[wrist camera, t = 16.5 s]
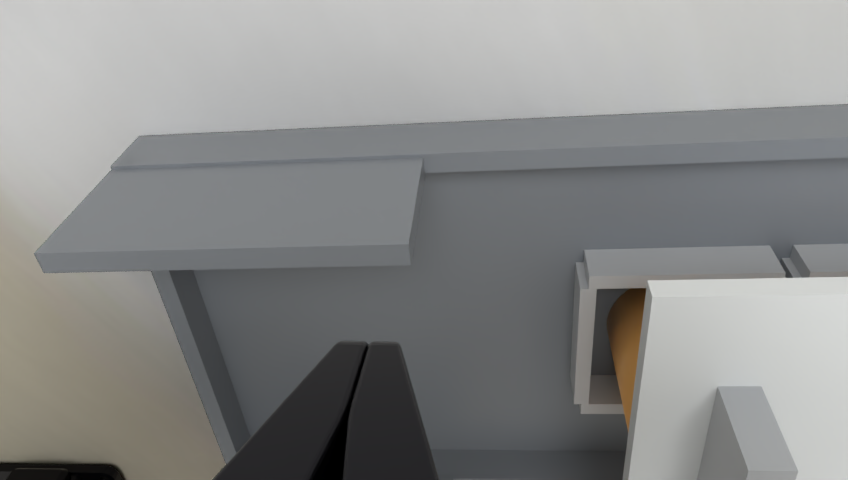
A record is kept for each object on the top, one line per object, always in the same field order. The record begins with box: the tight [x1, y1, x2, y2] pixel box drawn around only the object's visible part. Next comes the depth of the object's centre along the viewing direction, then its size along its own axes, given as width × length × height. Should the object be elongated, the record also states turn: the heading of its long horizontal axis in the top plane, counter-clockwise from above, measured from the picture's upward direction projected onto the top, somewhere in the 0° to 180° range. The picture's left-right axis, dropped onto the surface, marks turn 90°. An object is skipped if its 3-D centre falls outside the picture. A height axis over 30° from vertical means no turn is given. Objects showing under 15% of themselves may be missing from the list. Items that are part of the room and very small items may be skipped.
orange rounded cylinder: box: [607, 288, 646, 431], centre depth 22 cm, size 4×4×5 cm
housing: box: [34, 104, 848, 480], centre depth 22 cm, size 15×26×6 cm, turn 95°
